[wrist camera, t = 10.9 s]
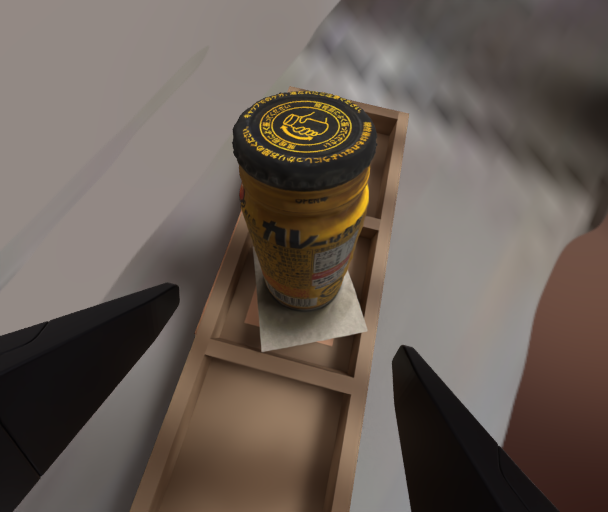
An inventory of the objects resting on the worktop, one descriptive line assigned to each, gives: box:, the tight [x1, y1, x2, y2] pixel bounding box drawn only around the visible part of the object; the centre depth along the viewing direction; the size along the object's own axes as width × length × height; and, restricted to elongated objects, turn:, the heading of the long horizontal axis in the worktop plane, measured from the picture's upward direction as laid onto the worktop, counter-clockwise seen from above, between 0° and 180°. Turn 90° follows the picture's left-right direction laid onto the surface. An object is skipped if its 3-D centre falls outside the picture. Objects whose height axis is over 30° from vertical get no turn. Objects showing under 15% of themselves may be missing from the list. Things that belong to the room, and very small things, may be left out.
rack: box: [129, 86, 409, 512], centre depth 18 cm, size 37×12×3 cm, turn 166°
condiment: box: [232, 91, 377, 352], centre depth 13 cm, size 7×8×12 cm
